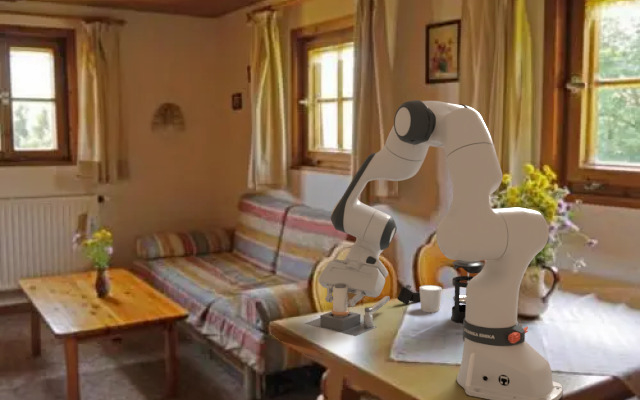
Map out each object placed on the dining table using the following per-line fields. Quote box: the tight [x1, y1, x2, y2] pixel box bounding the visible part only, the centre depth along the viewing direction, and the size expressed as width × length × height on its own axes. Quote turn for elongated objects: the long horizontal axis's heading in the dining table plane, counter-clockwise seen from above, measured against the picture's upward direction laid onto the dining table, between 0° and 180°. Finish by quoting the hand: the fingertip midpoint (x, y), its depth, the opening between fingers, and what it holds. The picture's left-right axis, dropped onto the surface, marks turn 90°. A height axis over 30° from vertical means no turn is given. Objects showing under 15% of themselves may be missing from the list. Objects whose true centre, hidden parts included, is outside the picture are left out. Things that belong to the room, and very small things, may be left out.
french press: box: [450, 260, 485, 325], centre depth 196 cm, size 12×9×23 cm
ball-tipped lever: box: [364, 295, 391, 316], centre depth 195 cm, size 18×2×2 cm, turn 156°
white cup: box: [419, 284, 443, 313], centre depth 208 cm, size 7×7×7 cm
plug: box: [331, 283, 350, 318], centre depth 189 cm, size 5×5×12 cm
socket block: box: [304, 310, 377, 337], centre depth 190 cm, size 18×10×4 cm, turn 50°
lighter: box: [396, 284, 421, 305], centre depth 215 cm, size 9×2×6 cm
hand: (339, 303), depth 189 cm, fingers open, 6 cm apart
